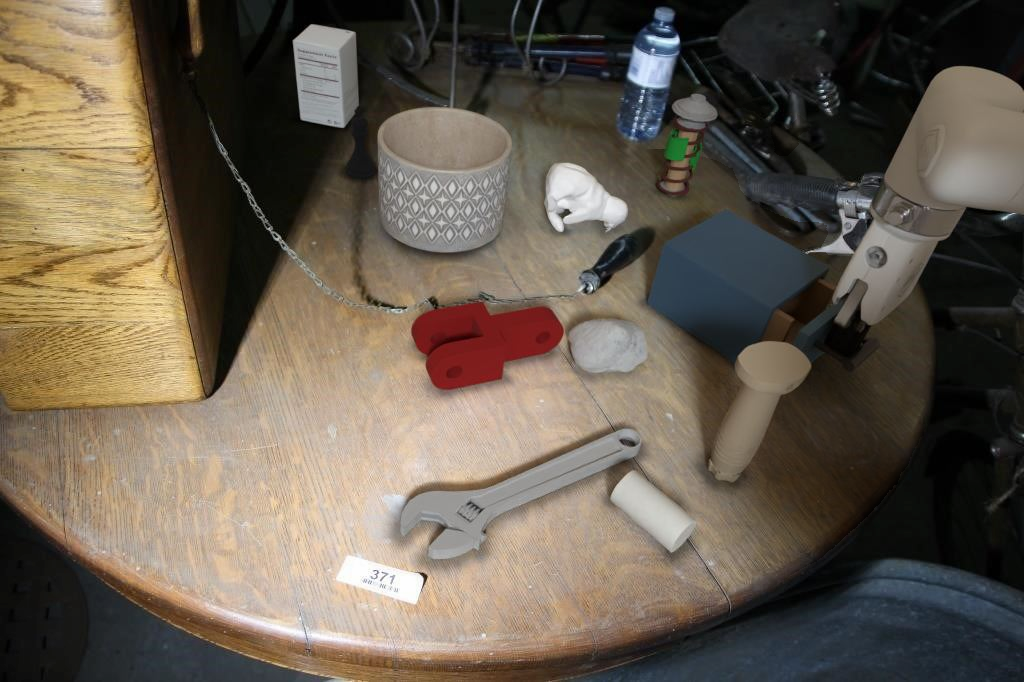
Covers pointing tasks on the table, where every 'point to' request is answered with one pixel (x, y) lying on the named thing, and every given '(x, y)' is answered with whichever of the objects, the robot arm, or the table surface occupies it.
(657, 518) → the white cylinder
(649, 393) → the table surface
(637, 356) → the pebble
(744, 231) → the cabinet
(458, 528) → the adjustable wrench
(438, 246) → the planter
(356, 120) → the chess piece
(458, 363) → the mechanical linkage
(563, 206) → the white figurine
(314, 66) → the white packaging box
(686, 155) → the shock absorber
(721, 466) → the handle
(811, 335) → the drawer
